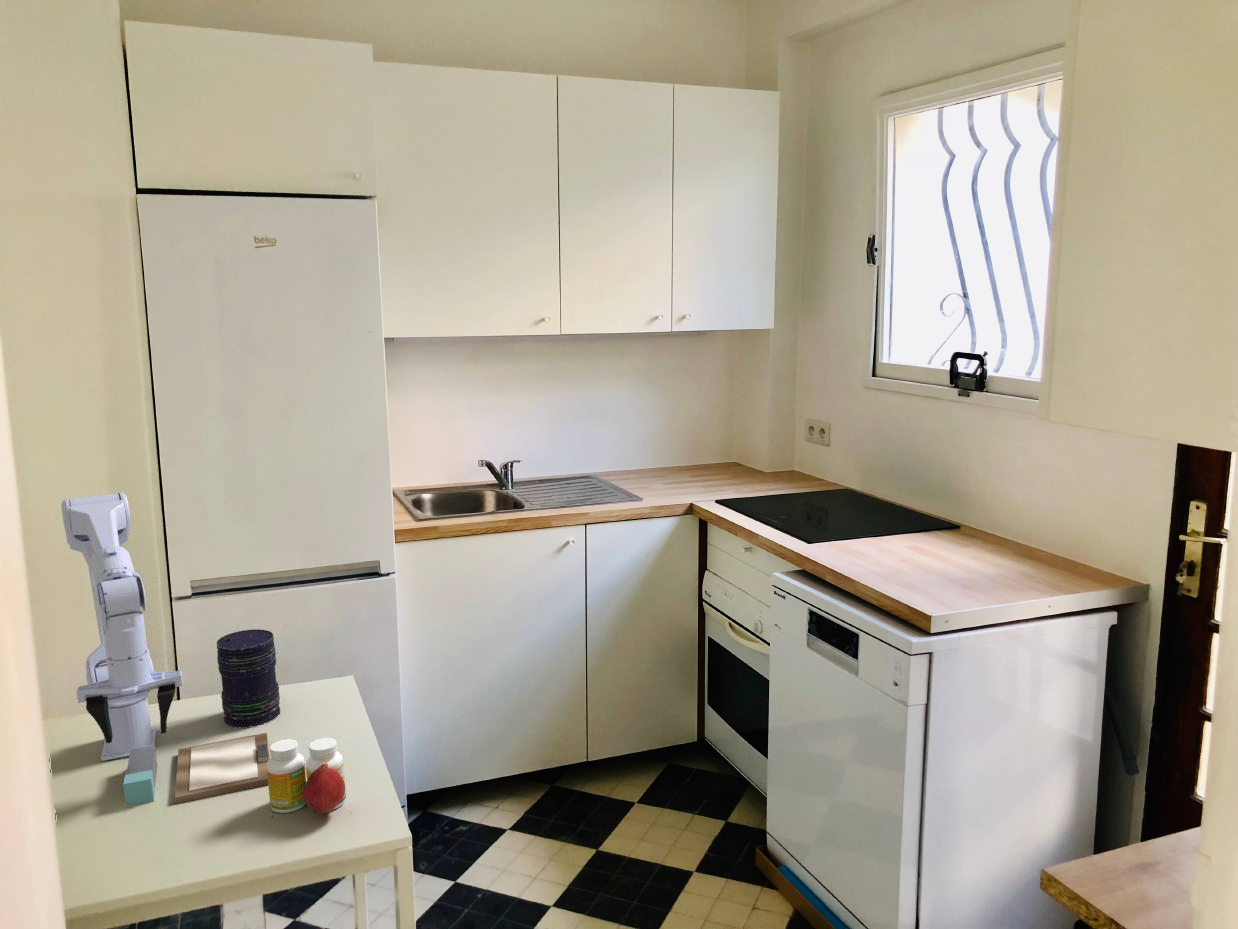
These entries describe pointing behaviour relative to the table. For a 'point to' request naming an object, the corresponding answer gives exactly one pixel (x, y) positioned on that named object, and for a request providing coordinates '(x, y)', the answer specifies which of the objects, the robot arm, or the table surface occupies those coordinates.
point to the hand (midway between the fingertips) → (137, 735)
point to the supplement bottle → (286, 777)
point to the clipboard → (221, 767)
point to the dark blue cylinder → (248, 678)
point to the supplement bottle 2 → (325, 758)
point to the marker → (140, 776)
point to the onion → (324, 789)
